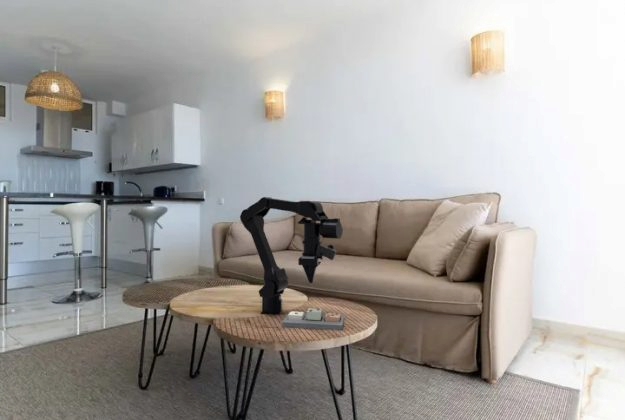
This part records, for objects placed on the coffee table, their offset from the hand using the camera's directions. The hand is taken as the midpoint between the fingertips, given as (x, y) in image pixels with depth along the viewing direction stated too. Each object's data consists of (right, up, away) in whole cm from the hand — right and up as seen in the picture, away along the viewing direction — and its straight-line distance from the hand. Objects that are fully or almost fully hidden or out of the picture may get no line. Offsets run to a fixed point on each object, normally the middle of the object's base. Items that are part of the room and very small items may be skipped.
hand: (311, 282), depth 136 cm
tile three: (+7, -12, -7) cm, 15 cm away
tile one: (-5, -12, -5) cm, 14 cm away
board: (+1, -12, -6) cm, 14 cm away
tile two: (+1, -10, -6) cm, 12 cm away
